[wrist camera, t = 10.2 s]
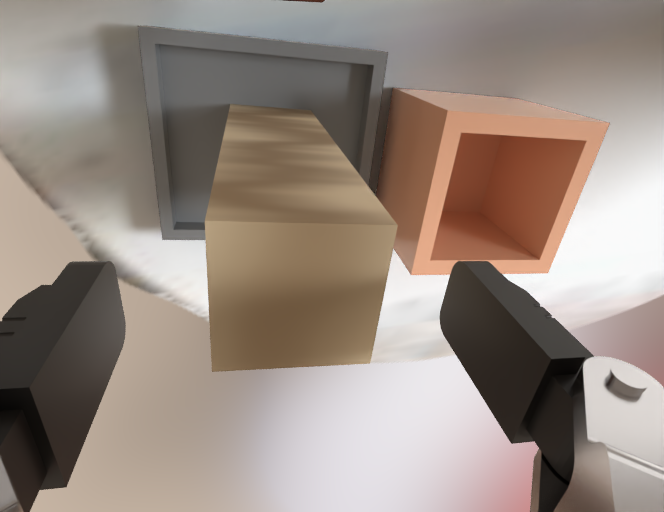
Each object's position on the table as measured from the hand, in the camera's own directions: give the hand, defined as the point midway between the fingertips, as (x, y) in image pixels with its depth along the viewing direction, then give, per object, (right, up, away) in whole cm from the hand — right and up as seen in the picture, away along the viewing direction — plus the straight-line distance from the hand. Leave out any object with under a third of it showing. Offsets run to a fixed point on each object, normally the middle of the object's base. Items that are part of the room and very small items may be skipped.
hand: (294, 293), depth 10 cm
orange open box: (+8, +7, +15) cm, 18 cm away
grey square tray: (-3, +7, +12) cm, 15 cm away
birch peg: (-2, +7, +11) cm, 13 cm away
